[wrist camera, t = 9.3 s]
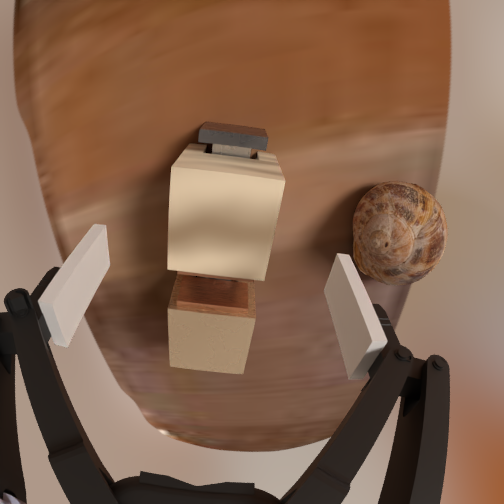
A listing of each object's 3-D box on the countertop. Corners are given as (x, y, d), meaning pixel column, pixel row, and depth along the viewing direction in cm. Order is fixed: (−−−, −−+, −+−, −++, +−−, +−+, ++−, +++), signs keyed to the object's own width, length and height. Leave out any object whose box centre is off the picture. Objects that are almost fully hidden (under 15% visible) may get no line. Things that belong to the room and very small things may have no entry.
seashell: (313, 250, 31) (378, 258, 21) (347, 173, 31) (413, 155, 22) (383, 290, 34) (449, 307, 24) (409, 221, 34) (475, 220, 25)
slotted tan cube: (189, 143, 26) (171, 166, 19) (274, 154, 26) (285, 181, 20) (182, 230, 30) (167, 275, 24) (258, 239, 31) (262, 286, 24)
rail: (191, 120, 24) (173, 136, 18) (278, 131, 25) (291, 150, 19) (180, 322, 36) (170, 371, 30) (241, 329, 37) (241, 379, 30)
